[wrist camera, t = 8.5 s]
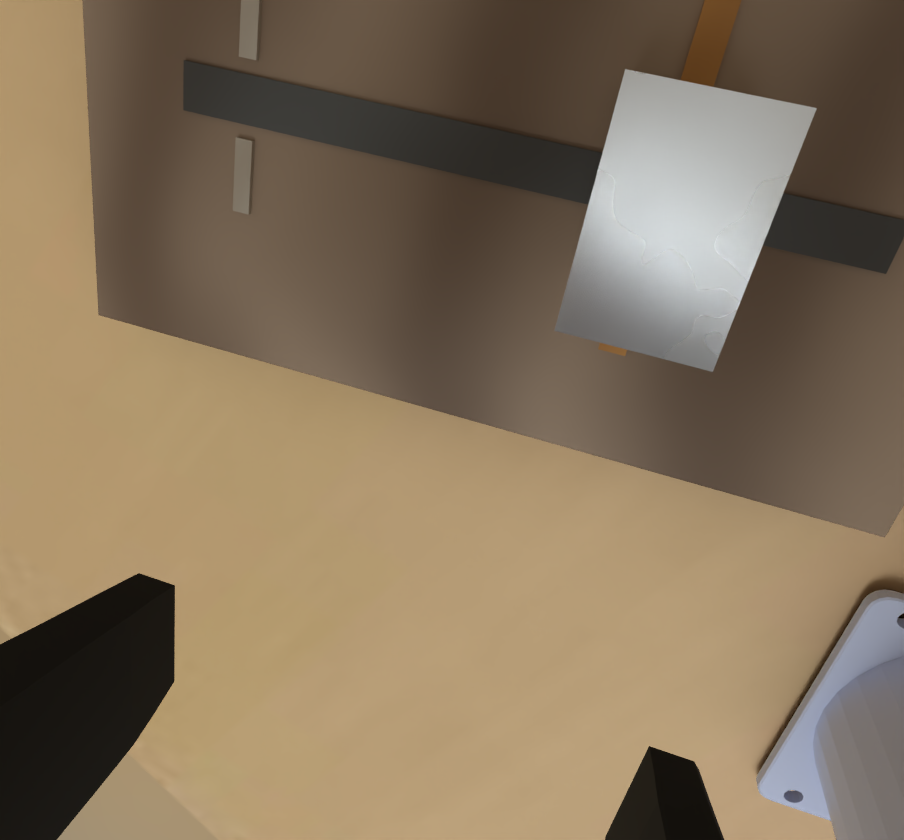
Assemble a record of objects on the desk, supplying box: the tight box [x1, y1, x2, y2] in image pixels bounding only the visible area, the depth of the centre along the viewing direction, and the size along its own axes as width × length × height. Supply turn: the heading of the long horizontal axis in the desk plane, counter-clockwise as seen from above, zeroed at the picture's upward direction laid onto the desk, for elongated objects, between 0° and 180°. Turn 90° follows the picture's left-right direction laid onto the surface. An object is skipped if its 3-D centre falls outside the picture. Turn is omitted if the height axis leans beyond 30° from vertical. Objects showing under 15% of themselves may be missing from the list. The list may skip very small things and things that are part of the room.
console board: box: [83, 0, 904, 537], centre depth 15 cm, size 20×12×2 cm, turn 79°
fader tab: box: [554, 69, 817, 372], centre depth 11 cm, size 2×4×4 cm, turn 169°
